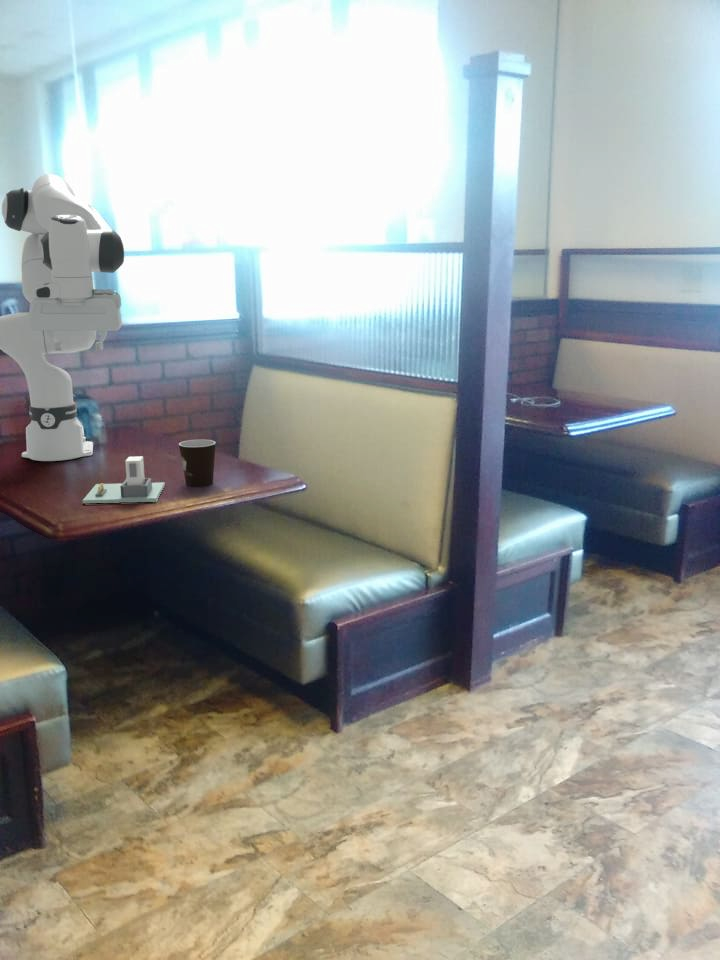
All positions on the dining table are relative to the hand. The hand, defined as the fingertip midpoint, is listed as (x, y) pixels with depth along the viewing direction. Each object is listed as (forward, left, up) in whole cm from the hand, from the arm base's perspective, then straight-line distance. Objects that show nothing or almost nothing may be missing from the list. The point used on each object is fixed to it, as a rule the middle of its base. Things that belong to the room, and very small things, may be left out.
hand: (78, 350), depth 202 cm
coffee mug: (+1, +26, -32) cm, 42 cm away
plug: (+13, +13, -31) cm, 36 cm away
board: (+11, +10, -32) cm, 36 cm away
